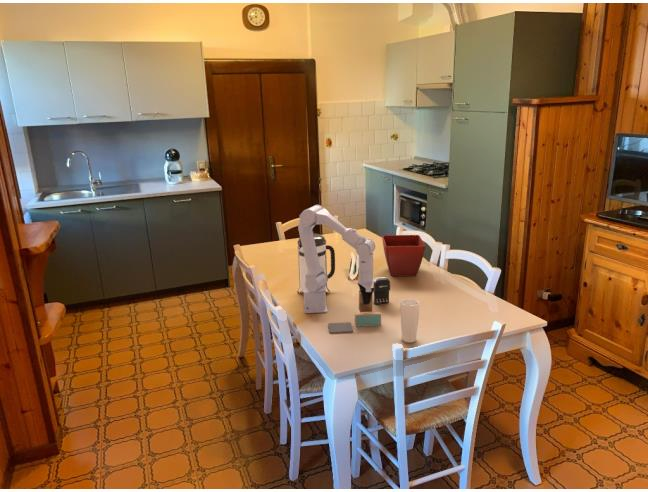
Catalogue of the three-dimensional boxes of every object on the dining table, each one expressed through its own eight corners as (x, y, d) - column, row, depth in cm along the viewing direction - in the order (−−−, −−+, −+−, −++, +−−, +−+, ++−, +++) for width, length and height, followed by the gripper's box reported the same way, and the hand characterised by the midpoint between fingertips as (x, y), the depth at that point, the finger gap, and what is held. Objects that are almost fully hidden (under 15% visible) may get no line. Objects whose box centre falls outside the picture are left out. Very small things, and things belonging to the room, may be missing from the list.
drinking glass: (416, 335, 185) (417, 298, 181) (420, 343, 179) (421, 305, 175) (398, 335, 185) (398, 298, 181) (401, 344, 179) (402, 306, 174)
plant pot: (424, 278, 241) (425, 245, 236) (385, 279, 242) (385, 246, 237) (418, 265, 260) (419, 234, 255) (381, 266, 260) (381, 235, 255)
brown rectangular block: (360, 312, 198) (360, 293, 196) (358, 308, 201) (358, 290, 199) (372, 311, 198) (372, 293, 196) (371, 308, 202) (371, 289, 199)
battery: (375, 305, 212) (375, 280, 209) (372, 302, 216) (372, 277, 212) (390, 304, 213) (391, 279, 210) (388, 300, 217) (388, 276, 213)
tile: (355, 326, 193) (355, 315, 192) (355, 324, 195) (355, 313, 194) (381, 325, 194) (381, 314, 193) (380, 323, 196) (380, 311, 194)
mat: (329, 333, 188) (329, 332, 188) (328, 324, 196) (328, 323, 195) (353, 332, 189) (353, 330, 189) (351, 323, 196) (351, 322, 196)
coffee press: (328, 300, 218) (327, 235, 210) (293, 298, 222) (290, 233, 213) (335, 286, 235) (334, 224, 226) (302, 284, 238) (300, 223, 229)
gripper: (379, 276, 188) (378, 309, 192) (372, 263, 202) (372, 294, 206) (360, 276, 188) (360, 309, 192) (355, 264, 201) (355, 295, 205)
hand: (365, 302), depth 199 cm, fingers closed on brown rectangular block, 3 cm apart
